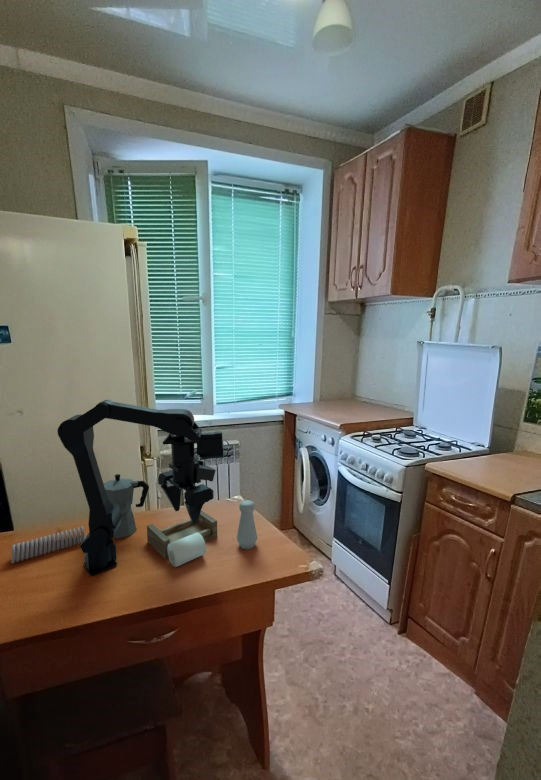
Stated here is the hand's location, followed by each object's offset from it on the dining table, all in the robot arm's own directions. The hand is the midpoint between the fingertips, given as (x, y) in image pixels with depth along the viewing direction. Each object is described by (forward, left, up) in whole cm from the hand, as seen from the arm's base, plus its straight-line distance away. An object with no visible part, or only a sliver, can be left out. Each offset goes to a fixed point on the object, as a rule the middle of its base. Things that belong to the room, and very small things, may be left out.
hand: (185, 516), depth 95 cm
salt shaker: (+16, -5, -12) cm, 21 cm away
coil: (-26, +29, -12) cm, 41 cm away
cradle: (+4, +10, -12) cm, 16 cm away
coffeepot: (-7, +26, -12) cm, 29 cm away
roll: (0, 0, -12) cm, 12 cm away
